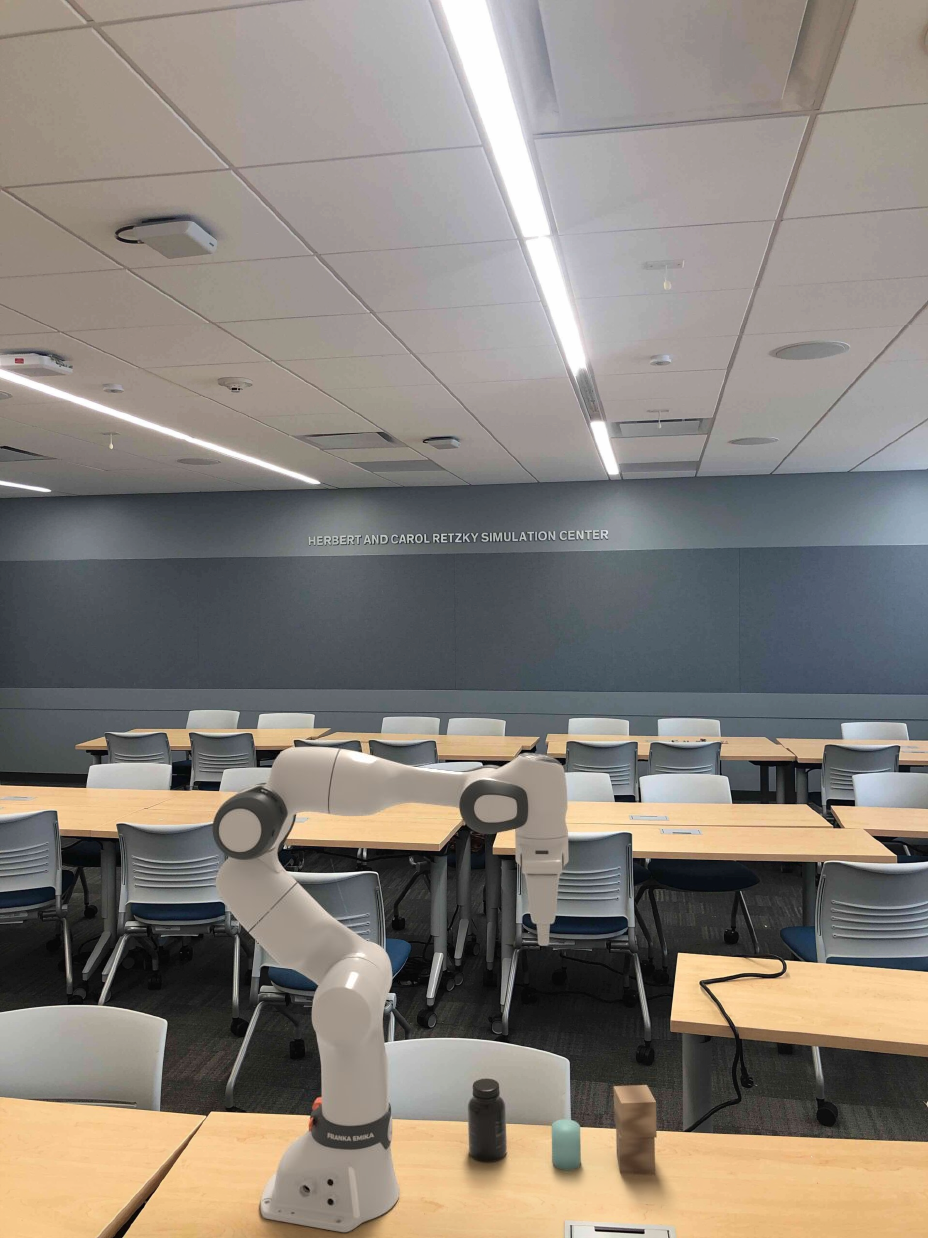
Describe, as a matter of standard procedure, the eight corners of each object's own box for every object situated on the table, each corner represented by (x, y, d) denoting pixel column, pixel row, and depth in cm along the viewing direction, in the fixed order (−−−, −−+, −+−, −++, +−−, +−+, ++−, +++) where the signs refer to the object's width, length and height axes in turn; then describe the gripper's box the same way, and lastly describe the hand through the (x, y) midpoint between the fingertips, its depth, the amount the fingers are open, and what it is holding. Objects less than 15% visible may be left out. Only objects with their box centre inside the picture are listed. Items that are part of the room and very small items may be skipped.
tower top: (622, 1139, 152) (621, 1103, 152) (614, 1120, 158) (613, 1086, 158) (656, 1137, 153) (655, 1102, 153) (647, 1119, 159) (646, 1085, 159)
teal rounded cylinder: (552, 1169, 154) (551, 1134, 154) (551, 1153, 159) (551, 1119, 159) (581, 1170, 153) (580, 1135, 154) (580, 1154, 158) (579, 1120, 159)
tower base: (619, 1173, 152) (619, 1138, 153) (616, 1153, 158) (616, 1119, 159) (655, 1174, 152) (654, 1139, 152) (650, 1155, 158) (650, 1120, 158)
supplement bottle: (498, 1139, 164) (497, 1073, 164) (512, 1159, 157) (511, 1090, 158) (463, 1146, 161) (462, 1079, 162) (475, 1167, 155) (474, 1096, 155)
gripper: (524, 838, 159) (525, 916, 159) (521, 865, 139) (523, 955, 138) (559, 838, 159) (561, 916, 158) (562, 866, 138) (564, 956, 138)
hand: (543, 935), depth 148 cm, fingers open, 8 cm apart
